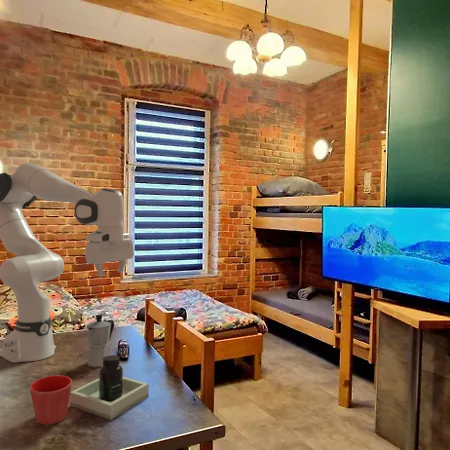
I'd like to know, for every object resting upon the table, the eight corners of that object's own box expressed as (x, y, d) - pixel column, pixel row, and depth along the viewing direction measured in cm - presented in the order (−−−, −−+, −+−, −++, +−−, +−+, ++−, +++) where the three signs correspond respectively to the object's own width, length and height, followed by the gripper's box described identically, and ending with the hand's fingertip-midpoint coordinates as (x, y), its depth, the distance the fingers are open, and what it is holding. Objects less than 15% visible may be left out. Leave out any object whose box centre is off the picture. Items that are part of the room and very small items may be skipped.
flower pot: (29, 431, 108) (29, 394, 107) (30, 411, 118) (30, 378, 117) (73, 423, 112) (73, 388, 111) (70, 405, 122) (70, 372, 122)
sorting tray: (70, 405, 122) (70, 392, 122) (109, 385, 136) (109, 372, 136) (110, 419, 114) (110, 405, 114) (148, 396, 128) (148, 383, 128)
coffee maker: (97, 371, 147) (97, 320, 146) (77, 367, 150) (77, 317, 149) (122, 356, 161) (122, 310, 160) (104, 353, 164) (104, 308, 163)
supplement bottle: (116, 403, 121) (116, 363, 121) (94, 401, 122) (94, 361, 122) (126, 393, 128) (126, 354, 127) (105, 390, 129) (105, 352, 129)
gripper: (124, 232, 157) (124, 269, 158) (82, 236, 139) (82, 277, 140) (137, 233, 154) (137, 270, 155) (96, 237, 136) (96, 279, 137)
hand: (111, 274), depth 147 cm, fingers open, 8 cm apart
